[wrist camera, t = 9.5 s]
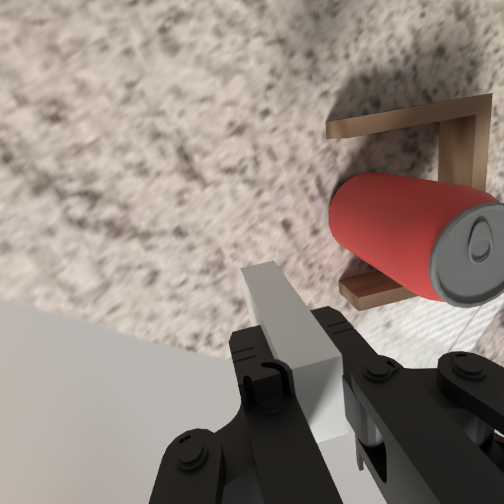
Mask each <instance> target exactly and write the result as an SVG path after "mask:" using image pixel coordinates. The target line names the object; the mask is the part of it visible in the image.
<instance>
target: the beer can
mask: <svg viewBox="0 0 504 504" xmlns="http://www.w3.org/2000/svg"><path fill="white" fill-rule="evenodd" d="M329 227H330V230H331V233H332V235H333V237H334V238H335V239H336V241H337V242H338V243H339V244H340V245H341V246H343V247H344V248H346V249H347V250H349V251H350V252H352V253H353V254H355V255H357V256H358V257H360V258H361V259H363V260H364V261H366V262H367V263H369V264H370V265H372V266H373V267H375V268H376V269H378V270H379V271H381V272H382V273H384V274H385V275H387V276H388V277H390V278H391V279H393V280H395V281H396V282H398V283H399V284H401V285H402V286H404V287H405V288H407V289H408V290H410V291H412V292H413V293H415V294H417V295H419V296H420V297H423V298H426V299H429V300H435V301H441V302H447V303H448V304H450V305H452V306H454V307H461V308H471V307H476V306H482V305H484V304H486V303H488V302H490V301H492V300H494V299H496V298H497V297H499V296H500V295H501V294H502V293H504V203H501V202H499V201H498V200H497V199H496V198H494V197H493V196H492V195H490V194H488V193H486V192H484V191H482V190H480V189H476V188H472V187H468V186H464V185H457V184H451V183H444V182H437V181H431V180H424V179H417V178H411V177H404V176H398V175H391V174H384V173H378V172H368V173H361V174H359V175H357V176H354V177H352V178H350V179H349V180H348V181H347V182H345V183H344V184H343V185H342V186H341V187H340V188H339V189H338V191H337V192H336V194H335V196H334V197H333V199H332V202H331V205H330V209H329Z"/></svg>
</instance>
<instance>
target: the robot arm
mask: <svg viewBox="0 0 504 504" xmlns="http://www.w3.org/2000/svg"><path fill="white" fill-rule="evenodd" d="M240 270H241V276H242V281H243V286H244V291H245V296H246V301H247V306H248V311H249V316H250V321H251V324H252V327H250V328H246V329H242V330H238V331H234V332H232V335H231V337H230V340H229V346H230V351H231V355H232V359H233V364H234V368H235V373H236V377H237V381H238V387H239V391H240V396H241V406H240V409H239V411H238V413H237V415H236V416H235V417H234V418H233V420H232V421H231V422H230V423H228V424H227V425H226V426H224V427H223V428H221V429H220V430H218V431H217V432H215V433H213V432H211V431H209V430H208V429H198V428H197V429H193V430H189V431H186V432H184V433H183V434H181V435H179V436H178V437H176V438H175V439H174V440H173V441H172V443H171V444H170V445H169V446H168V447H167V449H166V451H165V453H164V455H163V457H162V461H161V464H160V467H159V471H158V474H157V477H156V480H155V484H154V487H153V491H152V494H151V497H150V501H149V504H343V502H342V500H341V497H340V495H339V493H338V490H337V488H336V486H335V484H334V481H333V479H332V477H331V474H330V472H329V470H328V468H327V466H326V463H325V461H324V459H323V456H322V454H321V452H320V450H319V447H318V445H317V443H318V442H322V441H325V440H328V439H331V438H334V437H337V436H340V435H344V434H347V433H348V426H347V420H348V422H349V423H350V425H351V426H352V428H353V430H354V432H355V438H356V454H357V463H358V467H359V470H360V471H361V470H363V461H364V462H365V464H366V466H367V468H368V470H369V471H370V473H371V475H372V477H373V479H374V480H375V482H376V484H377V486H378V488H379V489H380V491H381V493H382V495H383V497H384V498H385V500H386V502H387V504H504V437H502V436H500V435H498V434H497V433H495V432H494V430H495V429H496V430H497V431H499V432H500V433H501V434H503V435H504V367H502V366H500V365H498V364H496V363H494V362H492V361H491V360H489V359H487V358H485V357H482V356H480V355H477V354H475V353H469V352H464V351H457V352H449V353H446V354H443V355H442V356H441V357H440V358H439V359H438V367H437V368H425V369H410V368H404V367H403V366H402V365H401V364H399V363H398V362H397V361H395V360H394V359H392V358H389V357H386V356H383V355H378V354H377V353H376V352H375V351H374V350H373V349H372V347H371V346H370V345H369V344H368V343H367V342H366V341H365V339H364V338H363V337H362V336H361V335H360V334H359V333H358V332H357V330H356V329H354V327H353V326H352V325H351V324H350V323H349V322H348V320H347V319H346V318H345V317H344V316H343V315H342V314H341V312H339V311H337V310H335V309H333V308H331V307H329V306H326V307H322V308H319V309H315V310H311V311H310V310H309V309H308V307H307V306H306V305H305V303H304V302H303V301H302V299H301V298H300V296H299V295H298V294H297V292H296V291H295V289H294V288H293V287H292V285H291V284H290V282H289V281H288V280H287V278H286V277H285V276H284V274H283V273H282V271H281V270H280V269H279V267H278V266H277V264H276V263H275V262H274V261H270V262H266V263H262V264H258V265H253V266H249V267H245V268H241V269H240Z"/></svg>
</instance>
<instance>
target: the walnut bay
mask: <svg viewBox="0 0 504 504" xmlns="http://www.w3.org/2000/svg"><path fill="white" fill-rule="evenodd" d="M492 94H493V93H490V94H484V95H478V96H472V97H466V98H460V99H454V100H449V101H443V102H437V103H431V104H426V105H420V106H414V107H409V108H403V109H397V110H392V111H386V112H380V113H374V114H369V115H363V116H357V117H352V118H346V119H340V120H335V121H329V122H326V133H327V139H335V138H351V137H356V136H362V135H367V134H373V133H378V132H384V131H389V130H394V129H400V128H405V127H411V126H416V125H422V124H427V123H432V122H438V121H440V133H439V170H438V182H444V183H451V184H457V185H464V186H468V187H472V188H476V189H480V190H482V191H484V192H485V187H486V174H487V160H488V147H489V134H490V121H491V108H492ZM339 291H340V294H341V295H342V296H343V297H344V298H346V299H347V300H348V301H349V302H350V303H351V304H352V305H353V306H354V307H355V308H356V309H357V310H358V311H362V310H366V309H370V308H374V307H378V306H382V305H385V304H389V303H393V302H397V301H401V300H405V299H409V298H412V297H416V296H419V295H417V294H415V293H413V292H412V291H410V290H408V289H407V288H405V287H404V286H402V285H401V284H399V283H398V282H396V281H395V280H393V279H391V278H390V277H388V276H387V275H385V274H384V273H382V272H381V271H377V272H373V273H369V274H365V275H360V276H356V277H352V278H348V279H344V280H340V281H339Z"/></svg>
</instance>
